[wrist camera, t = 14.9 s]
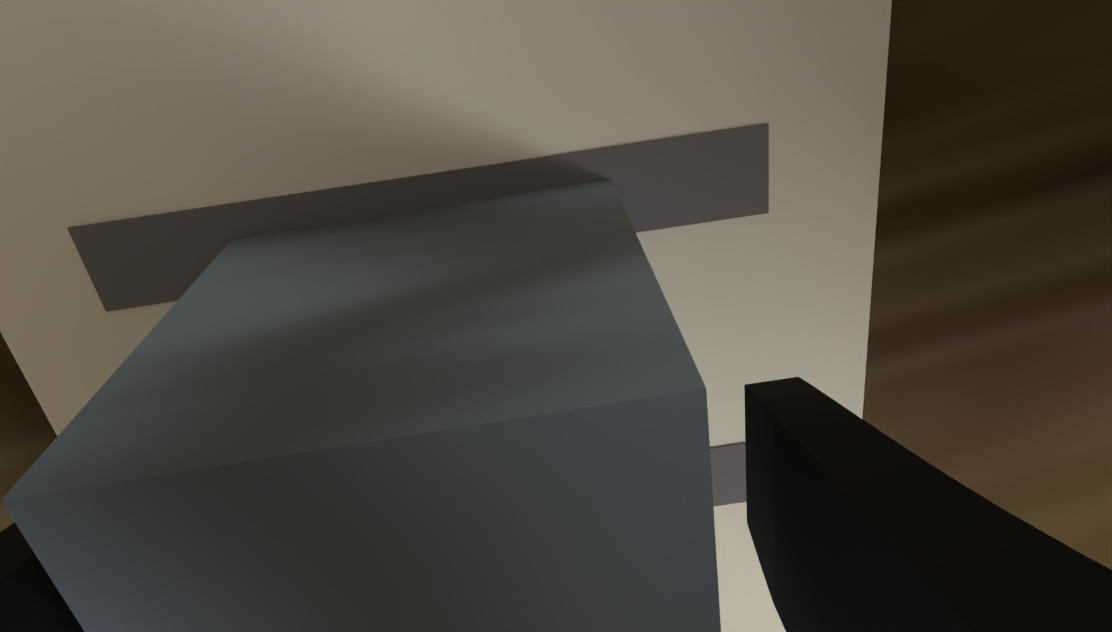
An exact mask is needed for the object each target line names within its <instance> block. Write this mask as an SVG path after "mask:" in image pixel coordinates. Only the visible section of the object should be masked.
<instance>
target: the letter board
mask: <svg viewBox="0 0 1112 632" xmlns="http://www.w3.org/2000/svg"><path fill="white" fill-rule="evenodd" d="M891 6H892V0H0V332H1V334H2V336H3V338H4V340H5V342H6V343H7V345H8V347H9V349H10V351H11V353H12V354H13V356H14V358H15V360H16V362H17V364H18V365H19V367H20V369H21V371H22V373H23V374H24V376H25V378H26V380H27V382H28V384H29V385H30V387H31V389H32V391H33V393H34V395H35V396H36V398H37V400H38V402H39V404H40V406H41V407H42V409H43V411H44V413H45V415H46V417H47V418H48V420H49V422H50V424H51V426H52V428H53V429H54V431H55V433H56V435H57V436H58V435H59V434H60V433H61V432H62V431H63V430H64V428H65V427H66V426H67V425H68V424H69V423H70V422H71V421H72V419H73V418H74V417H75V416H76V415H77V414H78V413H79V412H80V410H81V409H82V408H83V407H84V406H85V405H86V404H87V403H88V401H89V400H90V399H91V398H92V397H93V396H94V395H95V393H96V392H97V391H98V390H99V389H100V388H101V387H102V386H103V384H104V383H105V382H106V381H107V380H108V379H109V378H110V377H111V375H112V374H113V373H114V372H115V371H116V370H117V369H118V367H119V366H120V365H121V364H122V363H123V362H124V361H125V360H126V358H127V357H128V356H129V355H130V354H131V353H132V352H133V351H134V349H135V348H136V347H137V346H138V345H139V344H140V343H141V342H142V340H143V339H144V338H145V337H146V336H147V335H148V334H149V332H150V331H151V330H152V329H153V328H154V327H155V326H156V325H157V323H158V322H159V321H160V320H161V319H162V318H163V317H164V316H165V314H166V313H167V312H168V311H169V310H170V309H171V308H172V307H173V305H174V304H175V303H176V302H177V301H178V300H179V299H180V297H181V296H182V295H183V294H184V293H185V292H186V291H187V290H188V288H189V287H190V286H191V285H192V284H193V283H194V282H195V281H196V279H197V278H198V277H199V276H200V275H201V274H202V273H203V271H204V270H205V269H206V268H207V267H208V266H209V265H210V264H211V262H212V261H213V260H214V259H215V258H216V257H217V256H218V255H219V253H220V252H221V251H222V250H223V249H224V248H225V247H226V246H227V244H228V243H229V242H230V241H231V240H238V239H244V238H250V237H256V236H262V235H269V234H275V233H281V232H287V231H293V230H300V229H306V228H312V227H318V226H324V225H331V224H337V223H343V222H349V221H355V220H362V219H368V218H374V217H380V216H386V215H393V214H399V213H405V212H411V211H417V210H424V209H430V208H436V207H442V206H449V205H455V204H461V203H467V202H473V201H480V200H486V199H492V198H498V197H504V196H511V195H517V194H523V193H529V192H535V191H542V190H548V189H554V188H560V187H566V186H573V185H579V184H585V183H591V182H597V181H604V180H610V179H611V180H612V182H613V184H614V186H615V189H616V191H617V193H618V195H619V197H620V200H621V202H622V204H623V206H624V208H625V211H626V213H627V215H628V217H629V219H630V222H631V224H632V226H633V228H634V230H635V233H636V235H637V237H638V239H639V241H640V244H641V246H642V248H643V250H644V252H645V255H646V257H647V259H648V261H649V263H650V266H651V268H652V270H653V272H654V274H655V277H656V279H657V281H658V283H659V285H660V288H661V290H662V292H663V294H664V296H665V299H666V301H667V303H668V305H669V307H670V310H671V312H672V314H673V316H674V318H675V321H676V323H677V325H678V327H679V329H680V332H681V334H682V336H683V338H684V340H685V343H686V345H687V347H688V349H689V351H690V354H691V356H692V358H693V360H694V362H695V365H696V367H697V369H698V371H699V373H700V376H701V378H702V380H703V382H704V384H705V387H706V392H707V409H708V425H709V442H710V458H711V474H712V491H713V507H714V524H715V540H716V556H717V573H718V589H719V606H720V622H721V632H786V630H785V628H784V626H783V624H782V622H781V619H780V617H779V615H778V613H777V611H776V608H775V606H774V604H773V601H772V598H771V595H770V592H769V589H768V586H767V583H766V580H765V577H764V574H763V571H762V568H761V565H760V562H759V559H758V556H757V553H756V550H755V547H754V543H753V540H752V537H751V534H750V531H749V528H748V525H747V503H746V447H745V391H744V385H745V384H752V383H759V382H766V381H772V380H779V379H786V378H793V377H800V378H801V379H803V380H805V381H806V382H808V383H809V384H811V385H812V386H814V387H815V388H817V389H818V390H820V391H821V392H823V393H824V394H826V395H827V396H829V397H830V398H832V399H833V400H835V401H836V402H838V403H839V404H841V405H842V406H844V407H845V408H847V409H848V410H849V411H851V412H852V413H854V414H855V415H857V416H858V417H860V418H861V419H862V415H863V400H864V386H865V372H866V358H867V344H868V330H869V316H870V302H871V288H872V274H873V260H874V246H875V231H876V217H877V203H878V189H879V175H880V161H881V147H882V133H883V119H884V105H885V91H886V77H887V63H888V48H889V34H890V20H891Z"/></svg>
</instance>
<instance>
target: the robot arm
mask: <svg viewBox="0 0 1112 632" xmlns="http://www.w3.org/2000/svg"><path fill="white" fill-rule="evenodd" d="M744 391H745V447H746V503H747V525H748V528H749V531H750V534H751V537H752V540H753V543H754V547H755V550H756V553H757V556H758V559H759V562H760V565H761V568H762V571H763V574H764V577H765V580H766V583H767V586H768V589H769V592H770V595H771V598H772V601H773V604H774V606H775V608H776V611H777V613H778V615H779V617H780V619H781V622H782V624H783V626H784V628H785V630H786V632H1112V570H1111V569H1109V568H1107V567H1105V566H1103V565H1101V564H1099V563H1098V562H1096V561H1094V560H1092V559H1090V558H1088V557H1086V556H1084V555H1083V554H1081V553H1079V552H1077V551H1075V550H1073V549H1072V548H1070V547H1068V546H1066V545H1065V544H1063V543H1061V542H1059V541H1058V540H1056V539H1054V538H1052V537H1051V536H1049V535H1047V534H1045V533H1044V532H1042V531H1040V530H1038V529H1037V528H1035V527H1033V526H1031V525H1030V524H1028V523H1026V522H1024V521H1023V520H1021V519H1019V518H1017V517H1016V516H1014V515H1012V514H1010V513H1009V512H1007V511H1005V510H1003V509H1002V508H1000V507H999V506H997V505H995V504H994V503H992V502H990V501H989V500H987V499H985V498H984V497H982V496H980V495H979V494H977V493H975V492H974V491H972V490H970V489H969V488H967V487H966V486H964V485H962V484H961V483H959V482H958V481H956V480H954V479H953V478H951V477H950V476H948V475H946V474H945V473H943V472H942V471H940V470H939V469H937V468H935V467H934V466H932V465H931V464H929V463H928V462H926V461H924V460H923V459H921V458H920V457H918V456H917V455H915V454H914V453H912V452H911V451H909V450H908V449H906V448H905V447H903V446H902V445H900V444H898V443H897V442H895V441H894V440H892V439H891V438H889V437H888V436H886V435H885V434H883V433H882V432H881V431H879V430H878V429H876V428H875V427H873V426H872V425H870V424H869V423H867V422H866V421H864V420H863V419H861V418H860V417H858V416H857V415H855V414H854V413H852V412H851V411H849V410H848V409H847V408H845V407H844V406H842V405H841V404H839V403H838V402H836V401H835V400H833V399H832V398H830V397H829V396H827V395H826V394H824V393H823V392H821V391H820V390H818V389H817V388H815V387H814V386H812V385H811V384H809V383H808V382H806V381H805V380H803V379H801V378H800V377H793V378H786V379H779V380H772V381H766V382H759V383H752V384H745V385H744ZM0 632H84V630H83V629H82V627H81V625H80V624H79V622H78V621H77V619H76V618H75V616H74V614H73V613H72V611H71V610H70V608H69V607H68V605H67V603H66V602H65V600H64V599H63V597H62V596H61V594H60V592H59V591H58V589H57V588H56V586H55V585H54V583H53V581H52V580H51V578H50V577H49V575H48V574H47V572H46V571H45V569H44V567H43V566H42V564H41V563H40V561H39V560H38V558H37V556H36V555H35V553H34V552H33V550H32V549H31V547H30V545H29V544H28V542H27V541H26V539H25V538H24V536H23V534H22V533H21V531H20V530H19V528H18V527H17V525H16V523H13V524H12V525H10V526H9V527H7V528H6V529H4V530H3V531H2V532H0Z"/></svg>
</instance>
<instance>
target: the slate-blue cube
mask: <svg viewBox="0 0 1112 632" xmlns="http://www.w3.org/2000/svg"><path fill="white" fill-rule="evenodd" d="M1 502H2V503H3V505H4V506H5V508H6V509H7V511H8V513H9V514H10V516H11V517H12V519H13V520H14V522H15V523H16V525H17V527H18V528H19V530H20V531H21V533H22V534H23V536H24V538H25V539H26V541H27V542H28V544H29V545H30V547H31V549H32V550H33V552H34V553H35V555H36V556H37V558H38V560H39V561H40V563H41V564H42V566H43V567H44V569H45V571H46V572H47V574H48V575H49V577H50V578H51V580H52V581H53V583H54V585H55V586H56V588H57V589H58V591H59V592H60V594H61V596H62V597H63V599H64V600H65V602H66V603H67V605H68V607H69V608H70V610H71V611H72V613H73V614H74V616H75V618H76V619H77V621H78V622H79V624H80V625H81V627H82V629H83V630H84V632H721V622H720V606H719V589H718V573H717V556H716V540H715V524H714V507H713V491H712V474H711V458H710V442H709V425H708V409H707V392H706V387H705V384H704V382H703V380H702V378H701V376H700V373H699V371H698V369H697V367H696V365H695V362H694V360H693V358H692V356H691V354H690V351H689V349H688V347H687V345H686V343H685V340H684V338H683V336H682V334H681V332H680V329H679V327H678V325H677V323H676V321H675V318H674V316H673V314H672V312H671V310H670V307H669V305H668V303H667V301H666V299H665V296H664V294H663V292H662V290H661V288H660V285H659V283H658V281H657V279H656V277H655V274H654V272H653V270H652V268H651V266H650V263H649V261H648V259H647V257H646V255H645V252H644V250H643V248H642V246H641V244H640V241H639V239H638V237H637V235H636V233H635V230H634V228H633V226H632V224H631V222H630V219H629V217H628V215H627V213H626V211H625V208H624V206H623V204H622V202H621V200H620V197H619V195H618V193H617V191H616V189H615V186H614V184H613V182H612V180H611V179H610V180H604V181H597V182H591V183H585V184H579V185H573V186H566V187H560V188H554V189H548V190H542V191H535V192H529V193H523V194H517V195H511V196H504V197H498V198H492V199H486V200H480V201H473V202H467V203H461V204H455V205H449V206H442V207H436V208H430V209H424V210H417V211H411V212H405V213H399V214H393V215H386V216H380V217H374V218H368V219H362V220H355V221H349V222H343V223H337V224H331V225H324V226H318V227H312V228H306V229H300V230H293V231H287V232H281V233H275V234H269V235H262V236H256V237H250V238H244V239H238V240H231V241H230V242H229V243H228V244H227V246H226V247H225V248H224V249H223V250H222V251H221V252H220V253H219V255H218V256H217V257H216V258H215V259H214V260H213V261H212V262H211V264H210V265H209V266H208V267H207V268H206V269H205V270H204V271H203V273H202V274H201V275H200V276H199V277H198V278H197V279H196V281H195V282H194V283H193V284H192V285H191V286H190V287H189V288H188V290H187V291H186V292H185V293H184V294H183V295H182V296H181V297H180V299H179V300H178V301H177V302H176V303H175V304H174V305H173V307H172V308H171V309H170V310H169V311H168V312H167V313H166V314H165V316H164V317H163V318H162V319H161V320H160V321H159V322H158V323H157V325H156V326H155V327H154V328H153V329H152V330H151V331H150V332H149V334H148V335H147V336H146V337H145V338H144V339H143V340H142V342H141V343H140V344H139V345H138V346H137V347H136V348H135V349H134V351H133V352H132V353H131V354H130V355H129V356H128V357H127V358H126V360H125V361H124V362H123V363H122V364H121V365H120V366H119V367H118V369H117V370H116V371H115V372H114V373H113V374H112V375H111V377H110V378H109V379H108V380H107V381H106V382H105V383H104V384H103V386H102V387H101V388H100V389H99V390H98V391H97V392H96V393H95V395H94V396H93V397H92V398H91V399H90V400H89V401H88V403H87V404H86V405H85V406H84V407H83V408H82V409H81V410H80V412H79V413H78V414H77V415H76V416H75V417H74V418H73V419H72V421H71V422H70V423H69V424H68V425H67V426H66V427H65V428H64V430H63V431H62V432H61V433H60V434H59V435H58V436H57V438H56V439H55V440H54V441H53V442H52V443H51V444H50V445H49V447H48V448H47V449H46V450H45V451H44V452H43V453H42V454H41V456H40V457H39V458H38V459H37V460H36V461H35V462H34V464H33V465H32V466H31V467H30V468H29V469H28V470H27V471H26V473H25V474H24V475H23V476H22V477H21V478H20V479H19V480H18V482H17V483H16V484H15V485H14V486H13V487H12V488H11V489H10V491H9V492H8V493H7V494H6V495H5V496H4V497H3V499H2V500H1Z"/></svg>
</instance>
